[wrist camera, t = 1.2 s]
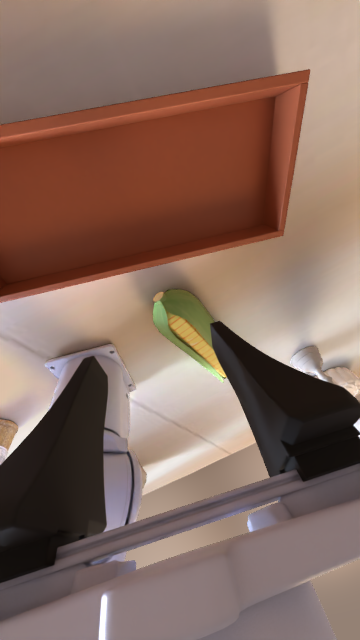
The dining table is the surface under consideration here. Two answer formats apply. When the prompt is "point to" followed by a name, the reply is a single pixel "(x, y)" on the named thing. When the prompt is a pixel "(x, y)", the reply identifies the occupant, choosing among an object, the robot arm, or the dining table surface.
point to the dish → (146, 182)
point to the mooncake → (344, 379)
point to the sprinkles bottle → (6, 437)
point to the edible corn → (187, 327)
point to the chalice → (313, 366)
